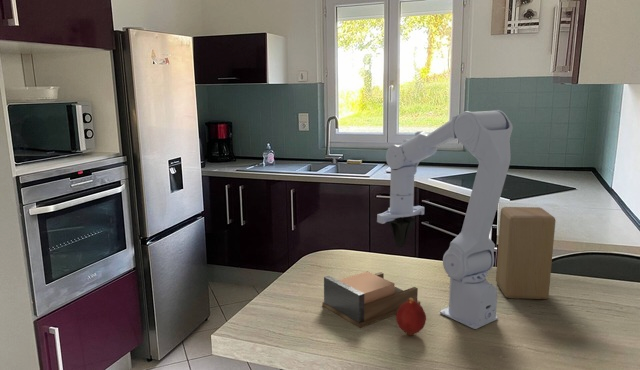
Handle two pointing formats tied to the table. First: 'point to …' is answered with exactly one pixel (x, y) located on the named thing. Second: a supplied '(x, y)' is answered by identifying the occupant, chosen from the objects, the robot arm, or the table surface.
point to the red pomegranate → (411, 317)
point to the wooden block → (525, 252)
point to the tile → (370, 286)
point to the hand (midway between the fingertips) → (400, 246)
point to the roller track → (352, 302)
